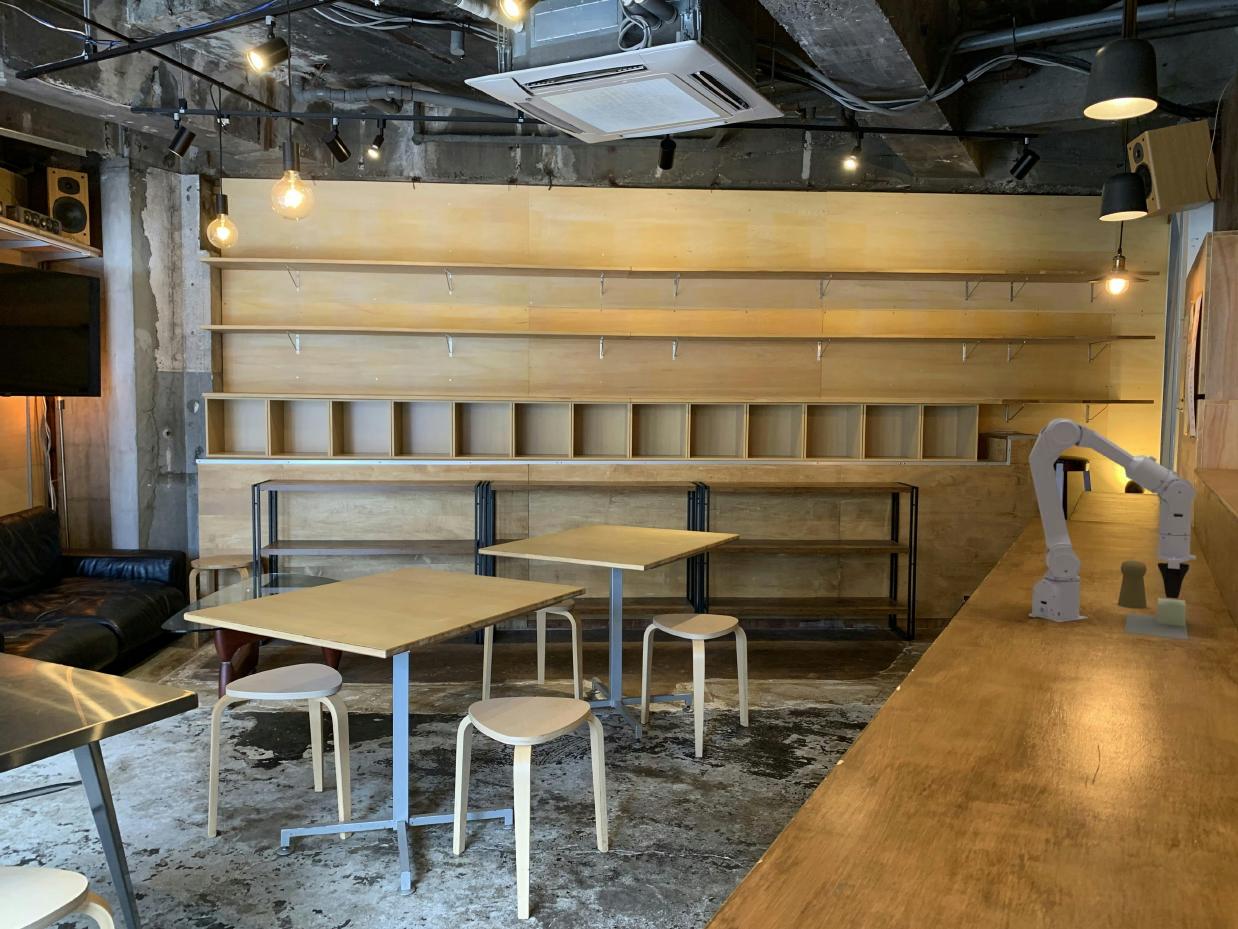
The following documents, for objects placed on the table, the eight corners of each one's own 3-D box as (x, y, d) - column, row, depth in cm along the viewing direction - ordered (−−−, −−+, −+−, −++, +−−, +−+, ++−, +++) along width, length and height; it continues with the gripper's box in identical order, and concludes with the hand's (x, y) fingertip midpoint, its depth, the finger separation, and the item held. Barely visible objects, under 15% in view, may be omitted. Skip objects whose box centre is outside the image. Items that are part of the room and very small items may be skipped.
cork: (1139, 605, 210) (1141, 559, 209) (1152, 611, 204) (1154, 563, 203) (1112, 605, 210) (1114, 559, 210) (1124, 610, 204) (1126, 563, 204)
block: (1185, 607, 187) (1184, 600, 194) (1157, 604, 189) (1158, 598, 196) (1184, 626, 187) (1184, 618, 194) (1157, 623, 190) (1157, 616, 196)
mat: (1187, 642, 176) (1187, 639, 176) (1123, 635, 182) (1124, 632, 182) (1185, 622, 193) (1185, 619, 193) (1127, 616, 199) (1127, 613, 199)
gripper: (1198, 539, 180) (1195, 606, 181) (1195, 531, 192) (1193, 593, 193) (1157, 537, 184) (1154, 602, 184) (1157, 529, 196) (1155, 590, 197)
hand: (1172, 597), depth 189 cm, fingers closed
